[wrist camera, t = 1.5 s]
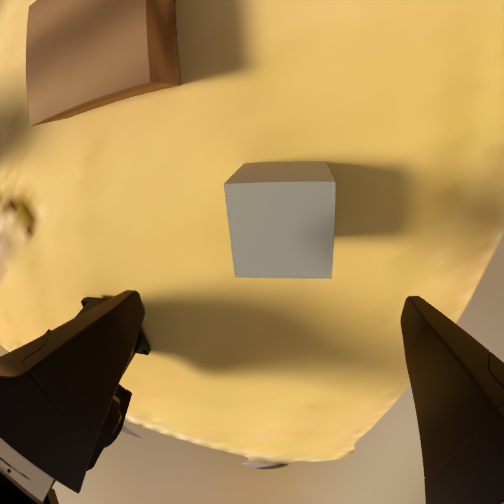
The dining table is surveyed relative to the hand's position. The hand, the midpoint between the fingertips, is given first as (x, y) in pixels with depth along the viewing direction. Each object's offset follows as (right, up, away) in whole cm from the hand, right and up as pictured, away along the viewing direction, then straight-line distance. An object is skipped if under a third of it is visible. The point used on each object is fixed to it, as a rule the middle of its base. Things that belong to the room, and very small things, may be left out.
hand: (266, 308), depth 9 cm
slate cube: (+2, +5, +9) cm, 11 cm away
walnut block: (-10, +16, +5) cm, 20 cm away
